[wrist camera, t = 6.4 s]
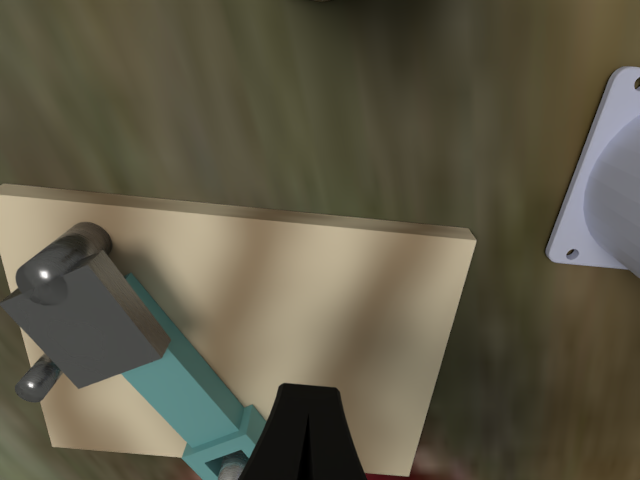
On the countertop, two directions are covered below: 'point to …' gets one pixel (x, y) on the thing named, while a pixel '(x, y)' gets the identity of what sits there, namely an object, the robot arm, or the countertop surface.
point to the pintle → (232, 465)
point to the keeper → (81, 314)
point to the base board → (261, 311)
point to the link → (194, 399)
